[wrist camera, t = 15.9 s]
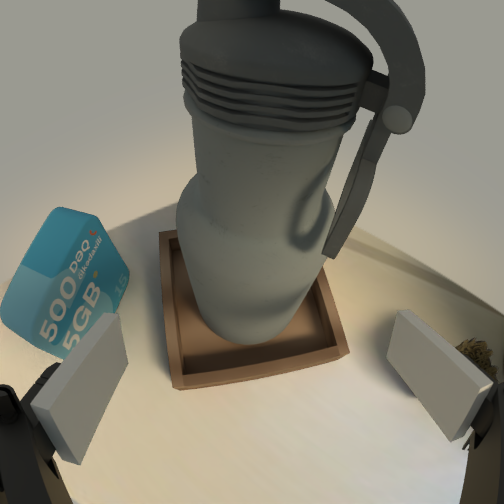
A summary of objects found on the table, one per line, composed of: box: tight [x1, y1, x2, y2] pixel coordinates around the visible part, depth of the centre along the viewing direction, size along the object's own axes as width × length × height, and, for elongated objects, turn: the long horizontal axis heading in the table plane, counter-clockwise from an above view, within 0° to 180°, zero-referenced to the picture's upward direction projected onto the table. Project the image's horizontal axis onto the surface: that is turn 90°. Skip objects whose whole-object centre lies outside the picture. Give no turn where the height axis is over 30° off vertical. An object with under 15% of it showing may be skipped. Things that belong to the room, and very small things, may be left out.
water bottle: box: [176, 0, 425, 345], centre depth 18 cm, size 10×10×28 cm
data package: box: [0, 207, 129, 360], centre depth 23 cm, size 12×4×12 cm, turn 165°
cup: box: [455, 338, 499, 383], centre depth 22 cm, size 8×7×8 cm
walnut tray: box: [159, 230, 350, 390], centre depth 29 cm, size 16×16×4 cm
